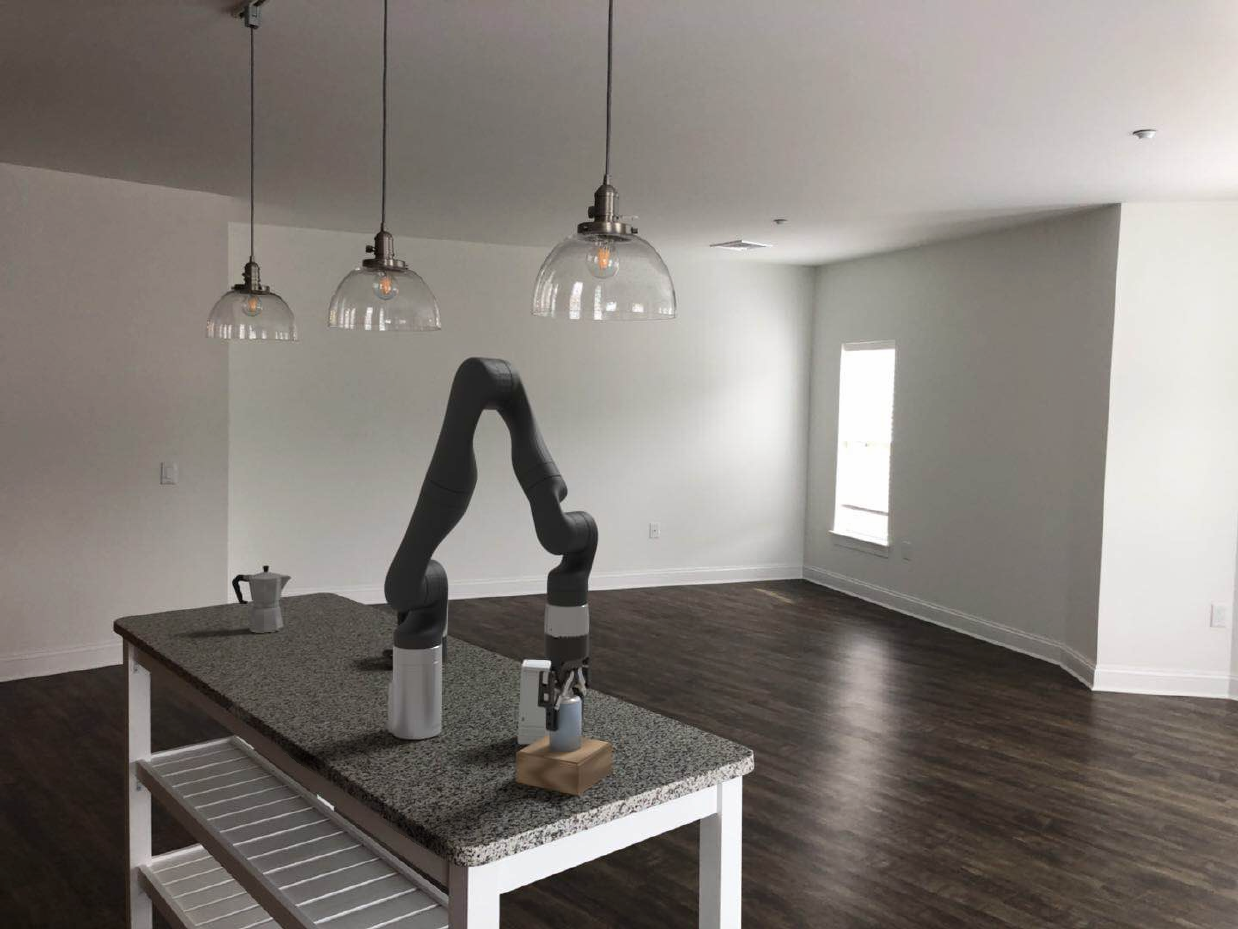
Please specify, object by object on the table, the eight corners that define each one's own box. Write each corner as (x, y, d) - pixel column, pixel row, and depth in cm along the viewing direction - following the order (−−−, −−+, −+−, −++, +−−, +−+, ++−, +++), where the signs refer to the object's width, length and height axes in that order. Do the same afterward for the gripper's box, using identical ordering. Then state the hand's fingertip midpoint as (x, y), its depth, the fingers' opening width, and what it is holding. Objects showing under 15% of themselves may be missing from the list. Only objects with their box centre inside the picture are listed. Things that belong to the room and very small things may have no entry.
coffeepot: (292, 625, 277) (292, 562, 276) (289, 633, 268) (289, 567, 267) (234, 627, 274) (234, 563, 273) (229, 635, 265) (229, 568, 264)
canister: (543, 748, 166) (544, 700, 166) (559, 739, 171) (559, 691, 171) (571, 754, 164) (571, 704, 164) (586, 744, 169) (587, 696, 168)
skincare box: (517, 745, 183) (518, 666, 182) (520, 734, 189) (521, 658, 188) (562, 746, 183) (563, 667, 182) (564, 735, 189) (565, 659, 188)
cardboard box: (515, 782, 165) (516, 751, 165) (551, 759, 176) (552, 731, 176) (578, 795, 160) (578, 764, 160) (611, 772, 171) (612, 742, 170)
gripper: (568, 619, 174) (566, 708, 175) (525, 635, 162) (523, 731, 163) (605, 624, 171) (603, 715, 172) (565, 640, 158) (563, 739, 159)
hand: (564, 723), depth 167 cm, fingers open, 8 cm apart
